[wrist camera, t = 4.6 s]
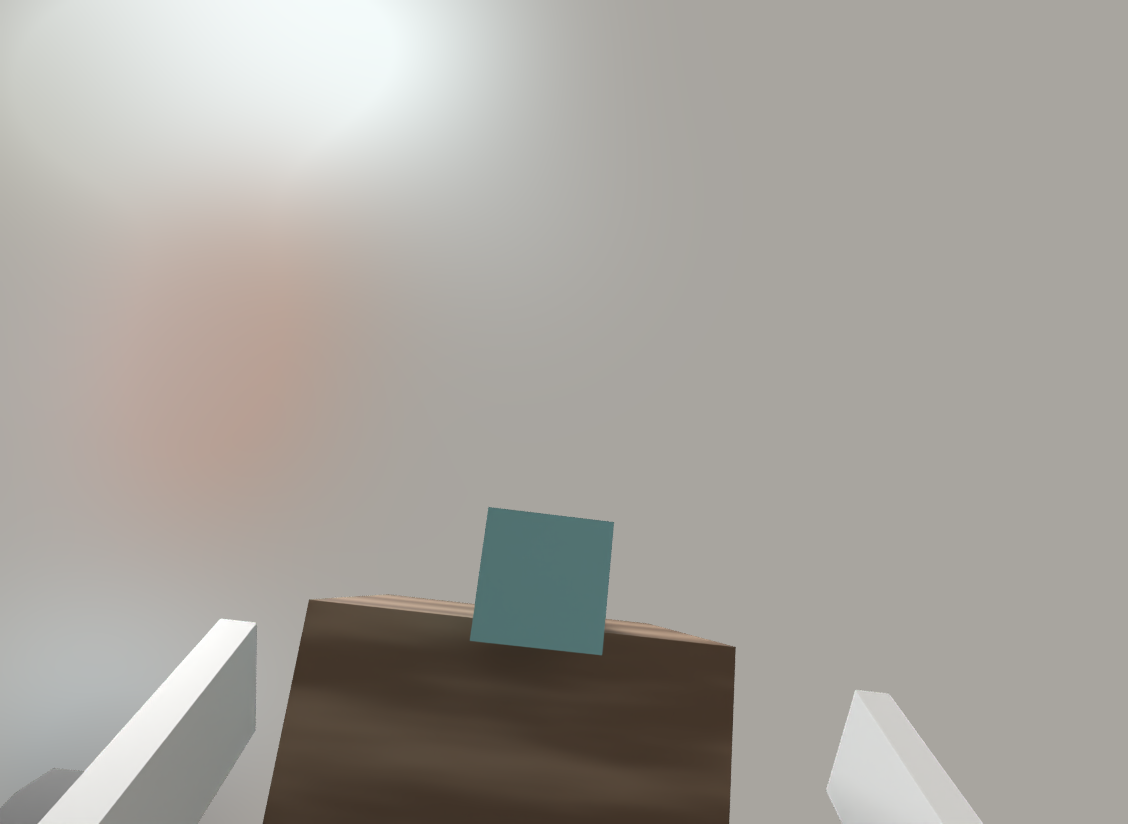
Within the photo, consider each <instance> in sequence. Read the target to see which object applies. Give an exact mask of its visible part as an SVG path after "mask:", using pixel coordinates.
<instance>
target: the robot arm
mask: <svg viewBox="0 0 1128 824" xmlns="http://www.w3.org/2000/svg"><path fill="white" fill-rule="evenodd" d="M256 645H257V623H254V622H246V621H236V620H227V619H220V620H219V621H218V622H217V623H216V624H215V625H214V627H213V628H212V629H211V630H210V631H209V632H208V633H207V635H206V636H205V637H204V638H203V639H202V640H201V641H200V642H199V643H198V645H197V646H196V647H195V648H194V649H193V650H192V651H191V652H190V653H189V655H188V656H187V657H186V658H185V659H184V660H183V661H182V662H181V664H180V665H179V666H178V667H177V668H176V669H175V670H174V671H173V673H172V674H171V675H170V676H169V677H168V678H167V679H166V680H165V682H164V683H163V684H162V685H161V686H160V687H159V688H158V689H157V691H156V692H155V693H154V694H153V695H152V696H151V697H150V698H149V700H148V701H147V702H146V703H145V704H144V705H143V706H142V707H141V709H140V710H139V711H138V712H137V713H136V714H135V716H133V717H132V719H131V720H130V721H129V722H128V723H127V724H126V726H124V728H123V729H122V730H121V731H120V732H119V733H118V734H117V735H116V737H115V738H114V739H113V740H112V741H111V742H110V743H109V744H108V746H107V747H106V748H105V749H104V750H103V751H102V752H101V753H100V755H99V756H98V757H97V758H96V759H95V760H94V761H93V762H92V764H91V765H90V766H89V767H88V768H87V769H86V770H85V771H77V770H67V769H56V768H53V769H52V770H50V771H48V772H47V773H45V774H44V775H42V776H41V777H39V778H38V779H36V780H34V781H33V782H31V783H30V784H28V785H27V786H25V787H24V788H22V789H20V790H19V791H17V792H16V793H15V794H14V795H13V796H12V797H11V798H10V799H9V800H8V801H7V802H6V803H5V804H4V805H3V806H2V807H1V808H0V824H198V822H199V821H200V819H201V818H202V816H203V814H204V813H205V811H206V809H207V808H208V806H209V805H210V803H211V801H212V799H213V798H214V797H215V795H216V793H217V792H218V790H219V788H220V787H221V785H222V784H223V782H224V780H225V779H226V777H227V776H228V774H229V772H230V771H231V769H232V767H233V766H234V764H235V762H236V761H237V759H238V758H239V756H240V754H241V753H242V751H243V750H244V748H245V746H246V745H247V743H248V742H249V740H250V738H251V737H252V735H253V733H254V732H255V726H256V718H255V717H256V647H257V646H256ZM826 791H827V793H828V795H829V798H830V800H831V801H832V804H833V806H834V808H835V810H836V812H837V814H838V816H839V818H840V820H841V822H842V824H983V823H982V821H981V820H980V819H979V817H978V816H977V815H976V813H975V812H974V810H973V809H972V808H971V806H970V805H969V803H968V802H967V801H966V799H965V798H964V797H963V795H962V794H961V792H960V791H959V790H958V788H957V787H956V785H955V784H954V783H953V781H952V780H951V779H950V777H949V776H948V774H947V773H946V772H945V770H944V769H943V767H942V766H941V765H940V764H939V762H938V761H937V759H936V758H935V756H934V755H933V754H932V752H931V751H930V750H929V748H928V747H927V746H926V744H925V743H924V741H923V740H922V739H921V737H920V736H919V734H918V733H917V732H916V730H915V729H914V727H913V726H912V725H911V723H910V722H909V721H908V719H907V718H906V716H905V715H904V714H903V712H902V711H901V710H900V708H899V707H898V705H897V704H896V703H895V701H894V700H893V698H892V697H891V696H890V694H887V693H878V692H870V691H860V690H856V691H855V693H854V697H853V700H852V703H851V707H850V710H849V714H848V717H847V721H846V724H845V727H844V731H843V734H842V738H841V741H840V744H839V748H838V751H837V755H836V758H835V762H834V765H833V768H832V772H831V776H830V779H829V782H828V785H827V789H826Z"/></svg>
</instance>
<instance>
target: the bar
mask: <svg viewBox="0 0 1128 824" xmlns="http://www.w3.org/2000/svg"><path fill="white" fill-rule="evenodd" d="M613 526H614V522H608V521H599V520H591V519H583V518H575V517H566V516H558V515H550V514H541V513H533V512H524V511H516V510H508V509H499V508H491V507H489V508H488V515H487V522H486V529H485V536H484V543H483V550H482V557H481V564H480V571H479V579H478V586H477V593H476V600H475V607H474V614H473V621H472V628H471V635H470V641H476V642H485V643H494V644H504V645H513V646H522V647H531V648H540V649H549V650H558V651H567V652H576V653H586V654H595V655H602V651H603V640H604V629H605V618H606V606H607V595H608V583H609V572H610V561H611V550H612V538H613Z"/></svg>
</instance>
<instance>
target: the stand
mask: <svg viewBox="0 0 1128 824" xmlns="http://www.w3.org/2000/svg"><path fill="white" fill-rule="evenodd" d="M474 607H475V604H468V603H459V602H450V601H441V600H433V599H424V598H415V597H406V596H396V595H372V596H357V597H341V598H325V599H310V600H309V603H308V608H307V613H306V617H305V622H304V627H303V632H302V637H301V641H300V646H299V651H298V657H297V661H296V666H295V670H294V675H293V680H292V685H291V690H290V695H289V699H288V704H287V709H286V714H285V719H284V724H283V729H282V733H281V738H280V743H279V748H278V752H277V757H276V762H275V767H274V772H273V777H272V782H271V786H270V791H269V796H268V801H267V806H266V811H265V815H264V820H263V824H729V813H730V786H731V757H732V731H733V703H734V675H735V648H736V647H733V646H730V645H726V644H722V643H718V642H715V641H711V640H707V639H703V638H699V637H696V636H692V635H688V634H685V633H681V632H677V631H673V630H670V629H666V628H662V627H659V626H654V625H651V624H646V623H637V622H628V621H619V620H610V619H605V629H604V640H603V651H602V655H595V654H586V653H576V652H567V651H558V650H549V649H540V648H531V647H522V646H513V645H504V644H494V643H485V642H476V641H470V635H471V628H472V621H473V614H474Z"/></svg>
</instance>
